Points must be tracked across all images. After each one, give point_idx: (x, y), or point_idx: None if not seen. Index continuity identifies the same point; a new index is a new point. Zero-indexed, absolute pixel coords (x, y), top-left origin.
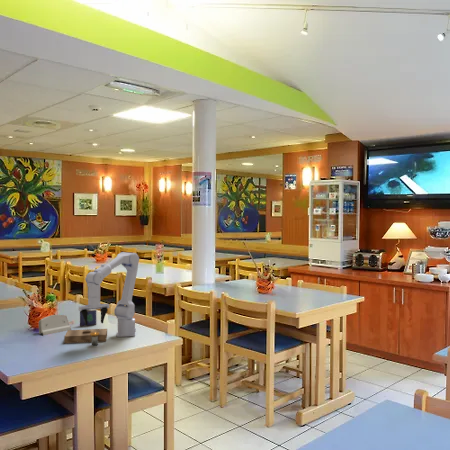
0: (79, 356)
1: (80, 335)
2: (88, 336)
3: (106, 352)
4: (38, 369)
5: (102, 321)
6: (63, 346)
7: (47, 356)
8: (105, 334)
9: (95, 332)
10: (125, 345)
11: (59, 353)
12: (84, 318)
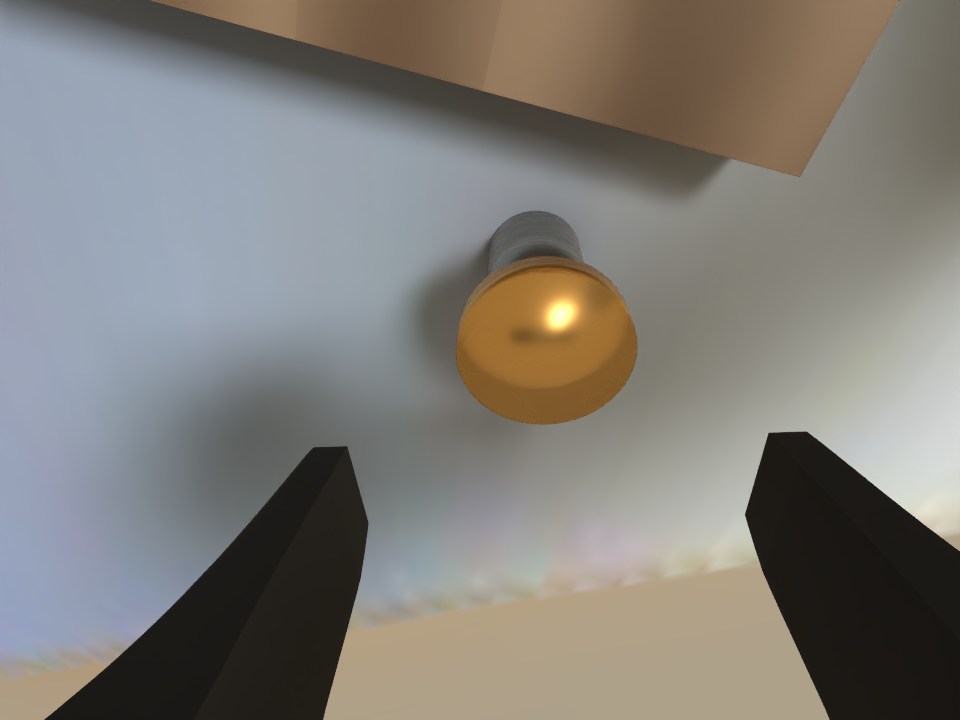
0: None
1: (283, 10)
2: (460, 80)
3: (582, 537)
4: (69, 650)
5: (777, 572)
6: (71, 147)
7: (14, 455)
8: (800, 161)
9: (565, 339)
10: (869, 421)
11: (112, 415)
12: (223, 596)
